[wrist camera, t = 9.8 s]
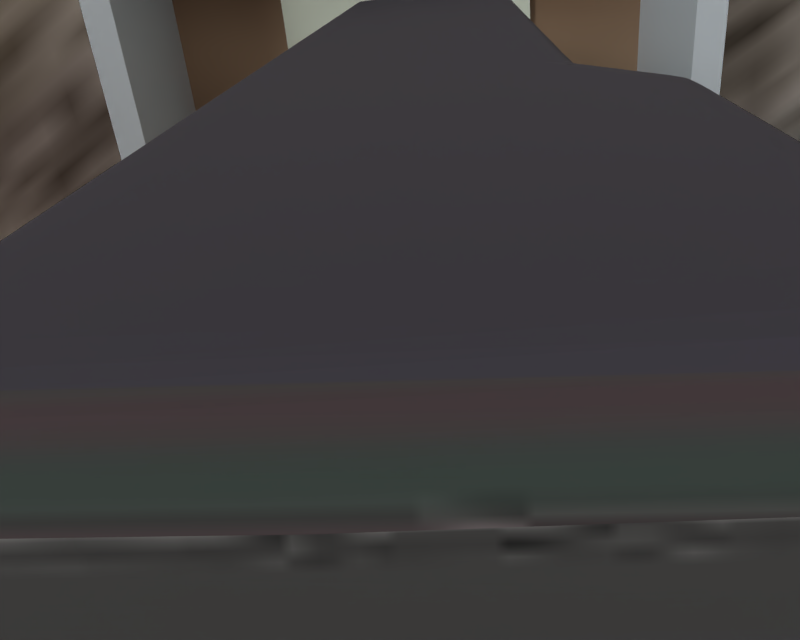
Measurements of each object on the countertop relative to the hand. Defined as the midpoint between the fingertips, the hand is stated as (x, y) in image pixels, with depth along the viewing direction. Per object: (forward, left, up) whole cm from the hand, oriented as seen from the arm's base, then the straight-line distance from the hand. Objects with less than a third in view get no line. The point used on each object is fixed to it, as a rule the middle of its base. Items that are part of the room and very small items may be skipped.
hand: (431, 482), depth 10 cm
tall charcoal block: (0, 0, -9) cm, 9 cm away
